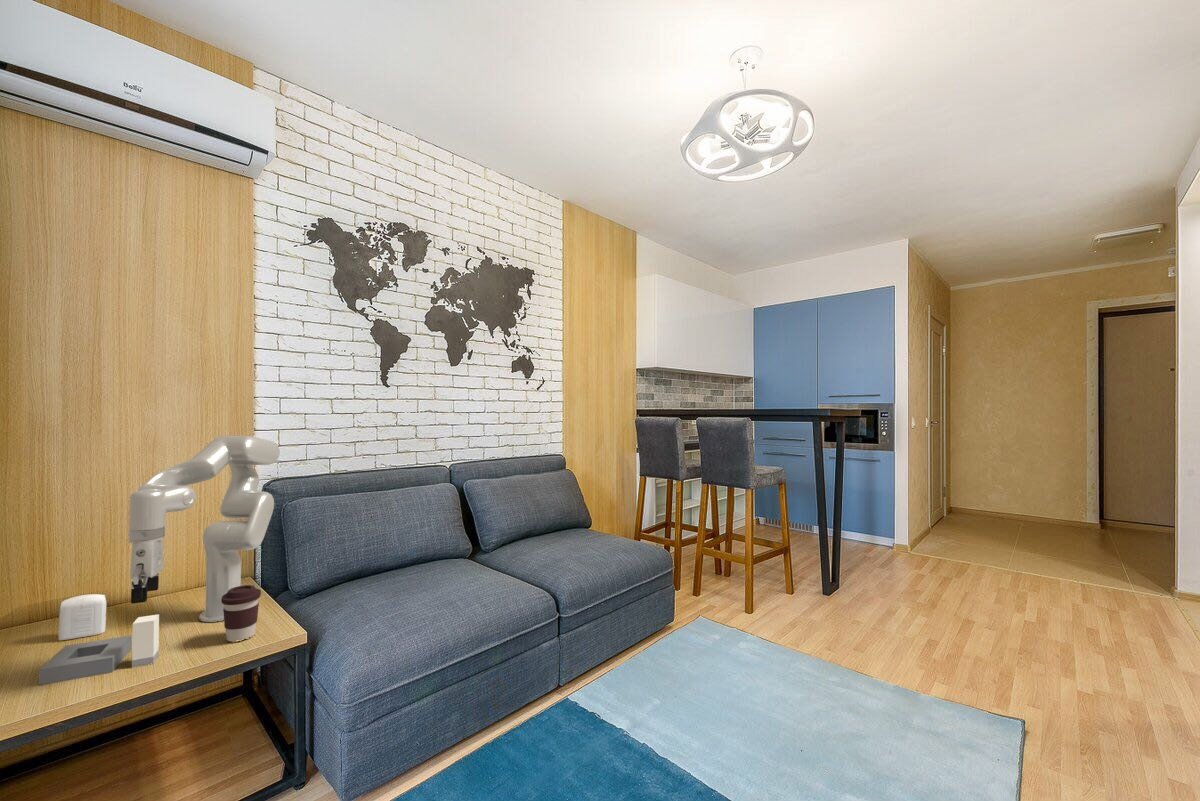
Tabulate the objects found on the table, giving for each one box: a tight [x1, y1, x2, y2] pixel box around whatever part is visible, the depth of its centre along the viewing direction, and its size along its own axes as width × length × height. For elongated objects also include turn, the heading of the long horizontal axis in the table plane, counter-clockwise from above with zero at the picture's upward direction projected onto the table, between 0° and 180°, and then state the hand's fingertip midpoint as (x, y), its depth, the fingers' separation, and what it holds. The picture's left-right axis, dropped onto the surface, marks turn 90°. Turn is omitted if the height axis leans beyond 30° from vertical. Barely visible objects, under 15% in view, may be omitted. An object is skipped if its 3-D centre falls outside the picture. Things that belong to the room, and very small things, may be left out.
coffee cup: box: [221, 584, 262, 642], centre depth 155 cm, size 10×10×15 cm
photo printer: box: [58, 593, 107, 641], centre depth 155 cm, size 10×4×12 cm, turn 123°
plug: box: [131, 614, 160, 668], centre depth 140 cm, size 4×4×12 cm
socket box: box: [38, 635, 132, 686], centre depth 138 cm, size 14×14×4 cm
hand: (145, 596), depth 140 cm, fingers open, 9 cm apart
